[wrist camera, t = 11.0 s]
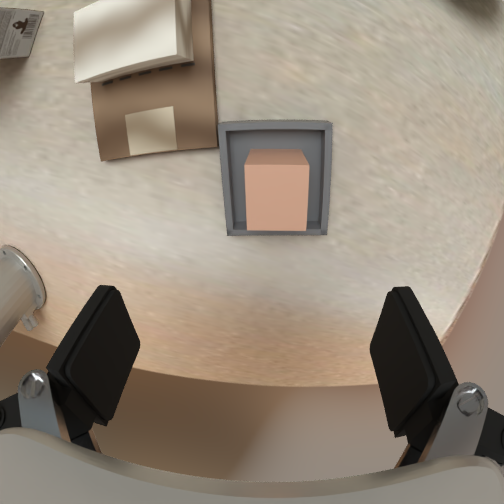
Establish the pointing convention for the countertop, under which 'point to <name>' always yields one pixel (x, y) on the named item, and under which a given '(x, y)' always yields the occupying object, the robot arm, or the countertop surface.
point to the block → (276, 189)
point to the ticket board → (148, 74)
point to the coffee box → (17, 31)
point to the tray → (275, 137)
